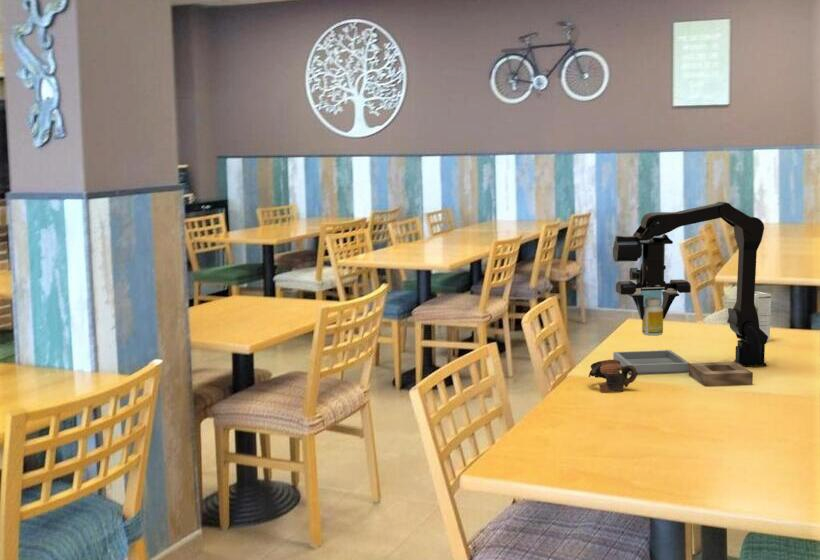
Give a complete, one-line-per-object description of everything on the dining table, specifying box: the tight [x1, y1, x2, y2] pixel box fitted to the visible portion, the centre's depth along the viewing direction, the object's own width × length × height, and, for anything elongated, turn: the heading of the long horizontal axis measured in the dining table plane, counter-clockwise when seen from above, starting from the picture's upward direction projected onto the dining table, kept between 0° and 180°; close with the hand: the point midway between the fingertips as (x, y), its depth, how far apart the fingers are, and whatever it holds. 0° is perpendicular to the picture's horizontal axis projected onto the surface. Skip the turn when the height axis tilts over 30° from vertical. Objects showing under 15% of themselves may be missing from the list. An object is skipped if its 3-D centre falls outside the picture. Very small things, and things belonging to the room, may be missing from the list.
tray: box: [612, 349, 690, 376], centre depth 262 cm, size 16×16×2 cm
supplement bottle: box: [641, 297, 664, 337], centre depth 260 cm, size 5×5×10 cm
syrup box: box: [754, 291, 772, 343], centre depth 290 cm, size 6×6×14 cm
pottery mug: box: [588, 359, 639, 393], centre depth 241 cm, size 12×10×8 cm
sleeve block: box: [688, 361, 754, 387], centre depth 247 cm, size 12×12×3 cm
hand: (652, 319), depth 260 cm, fingers closed on supplement bottle, 5 cm apart
